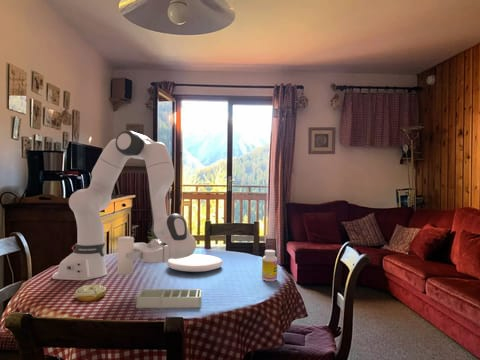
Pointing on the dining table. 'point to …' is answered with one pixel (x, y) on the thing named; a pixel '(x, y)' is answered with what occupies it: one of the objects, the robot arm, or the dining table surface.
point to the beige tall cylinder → (123, 248)
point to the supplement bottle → (269, 266)
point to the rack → (169, 298)
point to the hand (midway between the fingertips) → (123, 254)
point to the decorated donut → (90, 292)
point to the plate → (195, 263)
